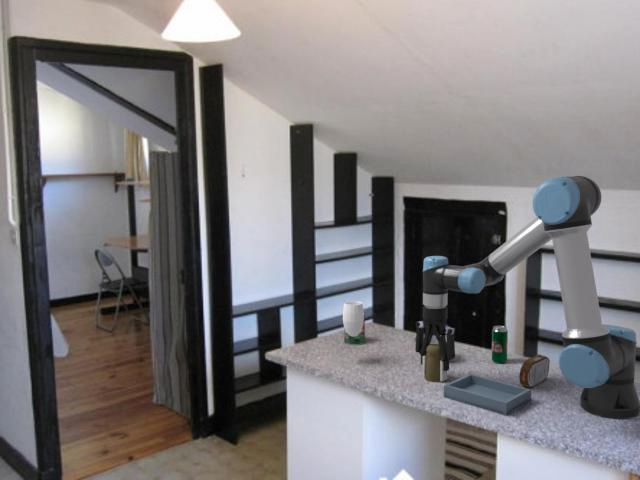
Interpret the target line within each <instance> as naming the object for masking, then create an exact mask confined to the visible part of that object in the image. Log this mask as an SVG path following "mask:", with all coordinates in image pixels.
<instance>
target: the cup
mask: <svg viewBox="0 0 640 480" xmlns="http://www.w3.org/2000/svg"><path fill="white" fill-rule="evenodd" d="M363 305H364V304H363V302H362V301H357V300H351V301H344V303H343V307H342V308H343V309H342V322H343V329H344V328H345V331H346V333H348V334H349V335H350V336H352V337H355V336H357V335H358V334H359V333H361V331H362V327H363V322H364V314H365V312H364V306H363Z"/></svg>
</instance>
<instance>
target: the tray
mask: <svg viewBox="0 0 640 480" xmlns="http://www.w3.org/2000/svg"><path fill="white" fill-rule="evenodd" d="M443 397H444V398H446V399H450V400H451V401H452V400H453V401H457V402H460V403H462V404H465V405H470V406H472V407H476V408H480V409H482V410H486V411H489V412H493V413H496V414H500V415H503V416H507V415H510V414H511V413H513V412H514V411H515V412H516V411H517V410H518V409H521V408H522V407H524V406H525V405H528V404H529V403H531V402H532V389H531V388H528V387H525V386H521V385H520V386H519V385H515V384H512V383H508V382H504V381H499V380H496V379H493V378H489V377H485V376H481V375H477V374H473V373H469V374H466V375H464V376H462V377H460V378H458V379H455V380H453V381H450V382H449V383H446V384H444V385H443Z"/></svg>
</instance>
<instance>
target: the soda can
mask: <svg viewBox="0 0 640 480" xmlns="http://www.w3.org/2000/svg"><path fill="white" fill-rule="evenodd" d="M492 328H493V329H492V330H491V361H492V362H493V363H496V364H505V363H507V361H508V344H509V343H508V336H509V335H508V334H509V333H508V328H507V326H504V325H493V327H492Z"/></svg>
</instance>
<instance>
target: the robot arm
mask: <svg viewBox="0 0 640 480" xmlns="http://www.w3.org/2000/svg"><path fill="white" fill-rule="evenodd" d="M601 203H602V192H601V189H600V187H599V185H598V184H597V183H596V181H594V180H593V179H591V178H590V177H586V176H583V175H572V176H556V177H554V178H549V179H547V180H545V181H544V182H542V183H541V184H540V185H539V186H538V187H537V189H536V190H535V192H534V194H533V197H532V204H531V205H532V209H533V210H532V211H533V213H534V214H535V216H536V217H535V218H534V219H533V220H531V221H530V222H529V223H528V224H526V225H525V226H524V227H523V228H522V229H520V230H519V231H518V232H516V234H514V235H513V236H512V237H510V238H509V239H507V240H506V241H505V242H504V243H503V244H501V245H500V246H499V247H498V248H496V249H495V250H494V251H493V252H492V253H489V255H487V256H486V257H485V258H484V259H482V260H481V261H480V262H477V263H472V264H467V265H463V266H461V265H452V264H449V259H448V257H447V256H443V255H431V256H426V257H425V258H424V259H423V266H422V267H423V269H422V280H423V281H422V282H423V283H422V284H423V289H422V290H423V291H422V305H424V306H423V307H422V317H423V320H420V321H416V322H415V329H416V330H415V331H416V334H415V335H416V345H415V350H414V351H415V353H417V354H419V355H420V365H421V366H422V377H424V378H425V375H426V368H427V361H428V354H427V347H428V345H430V343H431V339H432V336H433V335H434V336H436V339H437V340H438V343H439V347H440V351H441V355H442V359H443V360H441V361H440V381H441V382H444V381H446V380H448V371H449V370H450V361H452V360H454V359H456V346H455V345H456V344H455V333H456V328H455V327H451V326H449V325H448V322H447V319H448V307H447V306H448V290H449V291H454V292H460V293H466V294H479V293H481V292H482V290H483V289H484V288H485V287H487V286H493V285H496V284H497V283H499V282H501V281H502V280H503V279H504V278H505V275H506V274H508V272H510V271H512V270H513V269H515V268H516V267H517V266H518V265H519V264H521V263H523V262H524V261H525V260H526V259H528V258H529V257H530V256H531V255H533V254H534V253H536V252H537V251H538V250H539V249H541V248H542V247H544V246H545V245H546V244H547V243H549V242H550V241H552V245H553V251H554V258H555V263H556V270H557V275H558V281H559V282H558V283H559V289H560V294H561V300H562V301H561V302H562V307H563V313H564V318H565V325H566V329H565V330H564V331H563V332H562V334H561V338H562V343H563V349H562V350H561V352H560V354H559V357H558V365H559V366H558V367H559V370H560V372H561V374H562V375H563V377H564V378H565V379H566V380H567V381H569V382H570V383H571V384H573V386H576V387H578V388H582V392H581V394H580V397H579V398H580V399H579V405H580V407H581V409H582V410H584V411H586V412H588V413H589V414H593V415H596V416H600V417H604V418H609V419H630V418H635V417H638V416H639V415H640V398H639V395H638V393H637V389H636V385H635V373H636V358H637V357H636V352H637V344H638V341H637V333H636V331H634V330H633V329H632V328H628V327H624V326H618V325H612V324H604V323H603V322H602V316H601V315H602V314H601V309H600V305H599V297H598V292H597V286H596V279H595V273H594V266H593V262H592V256H591V250H590V244H589V238H588V231H589V230H590V229H591V227H592V226H593V223H592V217H591V216H593V215H594V214H595V213H596V212H597V211H598V210H599V208H600V206H601ZM440 335H441V336H440ZM446 335H447V336H446ZM424 336H425V337H424ZM445 338H446V339H447V343H446V339H445ZM423 340H424V341H423Z"/></svg>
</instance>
